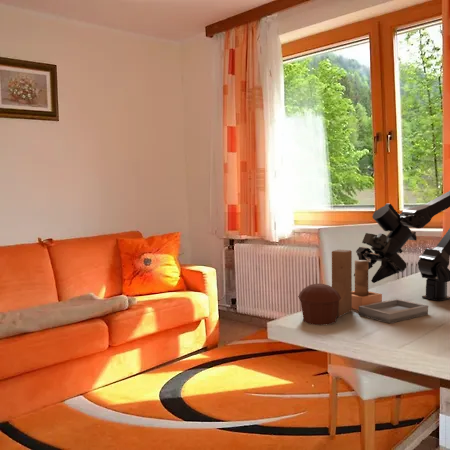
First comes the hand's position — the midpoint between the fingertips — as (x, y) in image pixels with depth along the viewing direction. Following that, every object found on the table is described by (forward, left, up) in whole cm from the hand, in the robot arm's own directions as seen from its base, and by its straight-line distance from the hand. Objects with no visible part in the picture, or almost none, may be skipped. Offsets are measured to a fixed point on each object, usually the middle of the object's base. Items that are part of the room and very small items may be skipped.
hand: (363, 279), depth 155 cm
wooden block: (+12, +1, -9) cm, 15 cm away
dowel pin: (+1, 0, -8) cm, 8 cm away
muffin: (+22, +4, -9) cm, 24 cm away
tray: (+1, +12, -8) cm, 15 cm away
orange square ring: (+1, 0, -8) cm, 8 cm away
